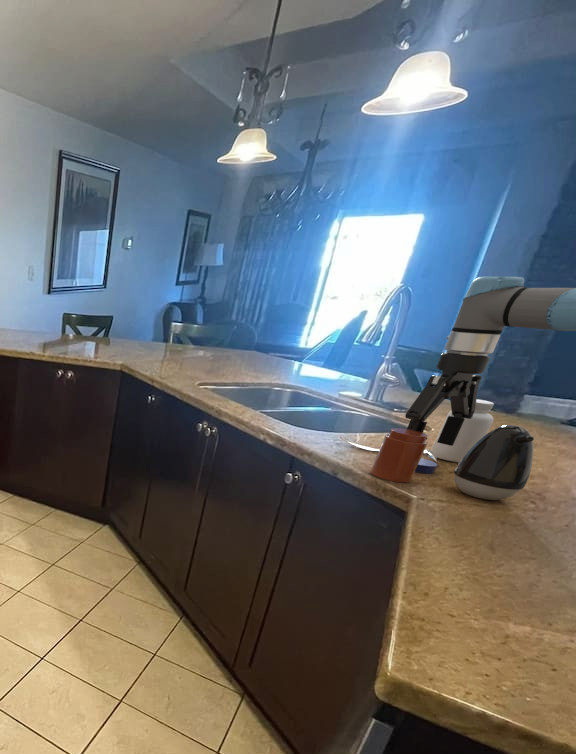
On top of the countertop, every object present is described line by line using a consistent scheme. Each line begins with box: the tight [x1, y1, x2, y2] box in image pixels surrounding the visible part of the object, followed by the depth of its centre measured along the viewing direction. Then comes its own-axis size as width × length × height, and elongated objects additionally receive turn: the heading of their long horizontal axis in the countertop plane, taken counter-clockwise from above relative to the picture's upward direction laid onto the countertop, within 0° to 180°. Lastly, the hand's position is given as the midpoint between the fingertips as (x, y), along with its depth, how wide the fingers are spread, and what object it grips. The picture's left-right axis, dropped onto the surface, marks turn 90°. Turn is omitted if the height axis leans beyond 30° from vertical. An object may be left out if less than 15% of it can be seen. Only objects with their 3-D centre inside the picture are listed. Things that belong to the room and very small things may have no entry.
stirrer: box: [339, 436, 439, 464], centre depth 126 cm, size 20×4×5 cm
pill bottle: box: [430, 398, 495, 464], centre depth 121 cm, size 8×8×15 cm
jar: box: [369, 427, 429, 483], centre depth 109 cm, size 7×7×10 cm
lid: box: [414, 457, 438, 474], centre depth 116 cm, size 8×7×2 cm
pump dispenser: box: [453, 424, 535, 501], centre depth 99 cm, size 10×10×15 cm
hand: (426, 446), depth 114 cm, fingers open, 13 cm apart
